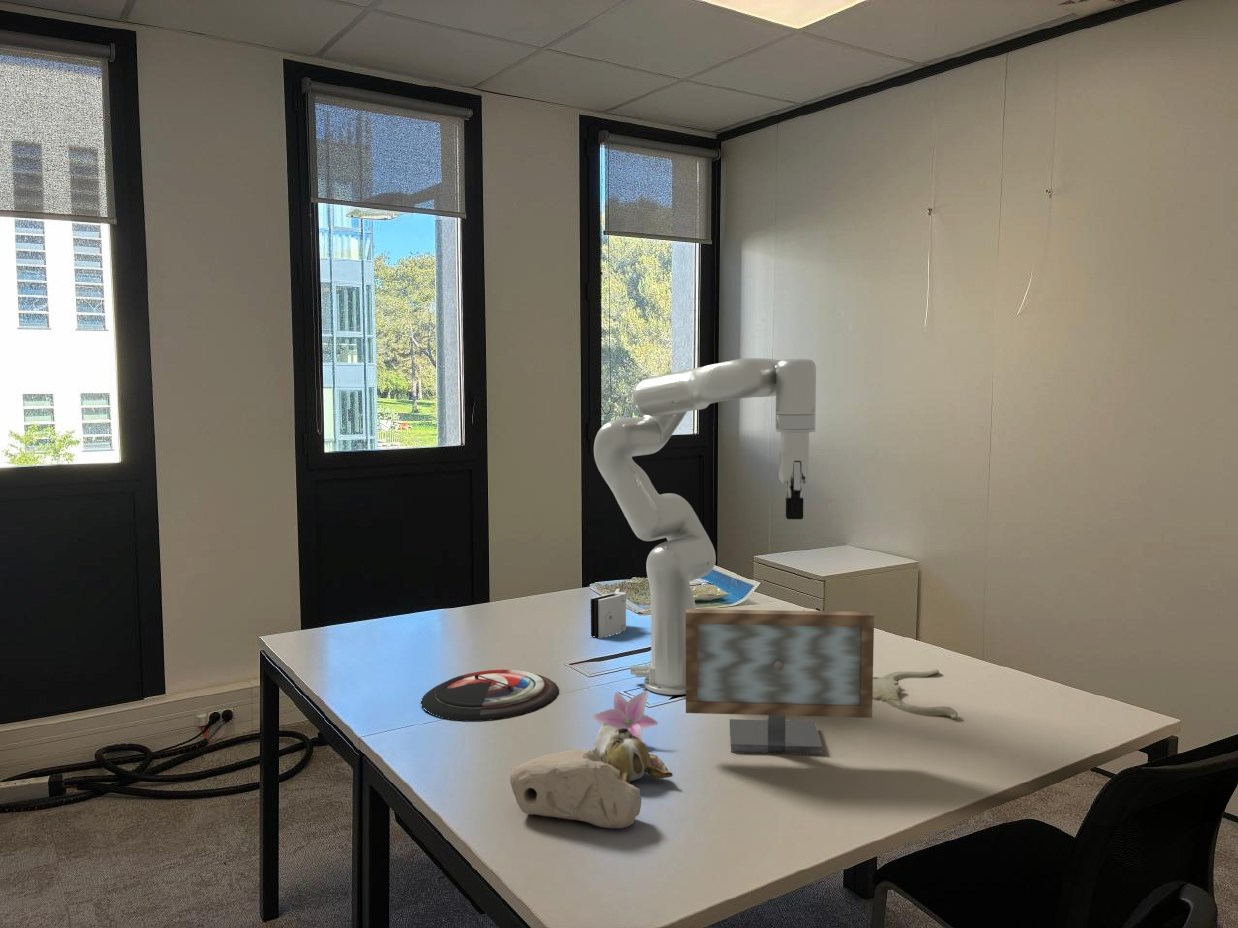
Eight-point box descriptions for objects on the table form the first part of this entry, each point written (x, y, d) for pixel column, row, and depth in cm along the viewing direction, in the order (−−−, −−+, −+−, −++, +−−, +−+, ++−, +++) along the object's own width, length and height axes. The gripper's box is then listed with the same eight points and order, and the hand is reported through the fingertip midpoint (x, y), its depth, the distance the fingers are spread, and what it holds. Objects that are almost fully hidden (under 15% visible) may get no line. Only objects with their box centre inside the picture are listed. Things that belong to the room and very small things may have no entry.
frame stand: (731, 752, 167) (731, 648, 165) (729, 726, 179) (729, 629, 177) (822, 754, 165) (823, 649, 163) (814, 728, 177) (815, 630, 175)
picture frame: (685, 713, 164) (685, 613, 162) (686, 708, 166) (686, 608, 165) (872, 718, 161) (874, 616, 159) (869, 712, 163) (871, 611, 162)
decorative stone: (504, 818, 143) (502, 755, 142) (524, 796, 150) (523, 736, 149) (629, 838, 137) (629, 772, 136) (645, 815, 144) (644, 752, 143)
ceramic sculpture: (630, 707, 165) (677, 740, 152) (629, 753, 166) (675, 790, 154) (576, 719, 160) (620, 755, 147) (576, 767, 161) (619, 806, 148)
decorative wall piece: (801, 716, 186) (960, 724, 181) (801, 702, 186) (960, 709, 180) (801, 668, 216) (937, 674, 210) (801, 656, 215) (938, 661, 210)
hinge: (617, 625, 251) (617, 588, 250) (634, 627, 248) (634, 590, 247) (588, 637, 239) (588, 598, 238) (605, 640, 237) (605, 601, 236)
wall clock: (504, 677, 217) (393, 702, 195) (505, 657, 217) (393, 680, 195) (585, 703, 199) (473, 734, 177) (586, 681, 199) (474, 710, 176)
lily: (588, 741, 174) (584, 710, 169) (627, 707, 181) (625, 675, 176) (631, 774, 168) (628, 743, 163) (671, 737, 174) (669, 706, 169)
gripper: (772, 421, 187) (772, 512, 189) (778, 426, 172) (777, 524, 174) (811, 421, 186) (809, 512, 188) (820, 426, 171) (818, 525, 173)
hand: (794, 518), depth 181 cm, fingers closed
